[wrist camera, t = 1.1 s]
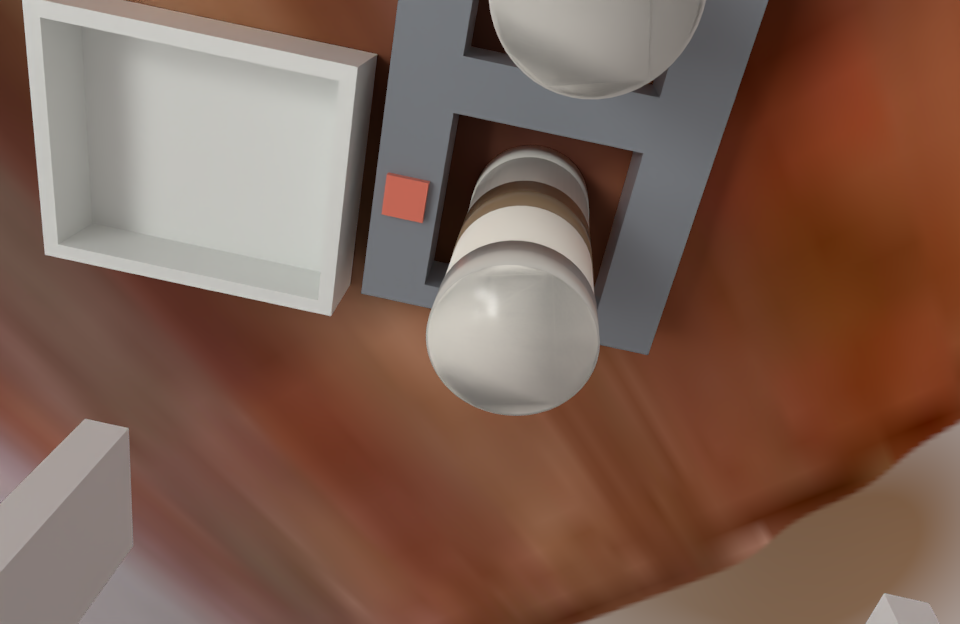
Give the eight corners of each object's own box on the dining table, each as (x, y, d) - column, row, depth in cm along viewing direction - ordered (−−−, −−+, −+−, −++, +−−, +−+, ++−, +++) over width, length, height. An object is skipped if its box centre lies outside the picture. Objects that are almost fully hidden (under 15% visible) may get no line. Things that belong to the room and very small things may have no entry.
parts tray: (87, 228, 34) (44, 254, 31) (73, -11, 29) (21, -5, 26) (350, 284, 34) (330, 316, 31) (377, 54, 29) (357, 67, 26)
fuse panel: (374, 269, 33) (359, 296, 31) (440, -220, 25) (426, -237, 22) (642, 326, 33) (648, 358, 31) (797, -145, 25) (823, -153, 22)
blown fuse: (464, 241, 32) (414, 395, 22) (485, 133, 30) (440, 246, 19) (572, 264, 32) (575, 430, 22) (601, 158, 30) (620, 284, 19)
